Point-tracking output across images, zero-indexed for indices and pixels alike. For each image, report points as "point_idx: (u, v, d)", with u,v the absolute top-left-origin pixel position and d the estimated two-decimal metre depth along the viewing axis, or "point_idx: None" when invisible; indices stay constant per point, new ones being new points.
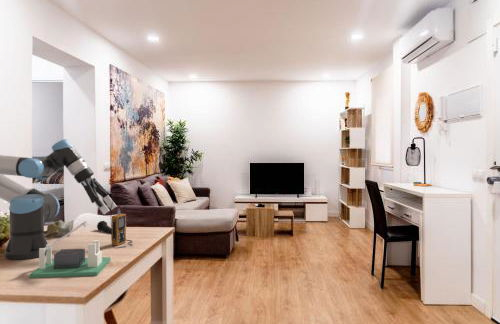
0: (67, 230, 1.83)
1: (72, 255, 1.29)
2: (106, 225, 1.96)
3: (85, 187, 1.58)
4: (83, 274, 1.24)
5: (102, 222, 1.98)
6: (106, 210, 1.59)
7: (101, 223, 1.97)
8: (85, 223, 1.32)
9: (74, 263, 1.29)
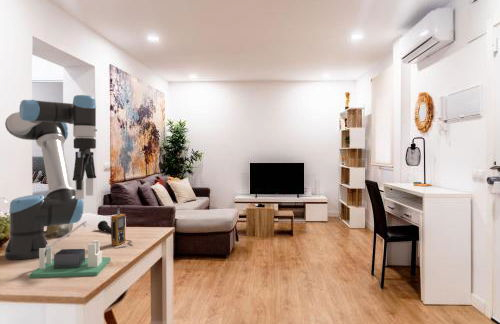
0: (66, 230, 1.83)
1: (72, 255, 1.29)
2: (107, 225, 1.96)
3: (77, 159, 1.32)
4: (83, 274, 1.24)
5: (103, 222, 1.98)
6: (81, 196, 1.33)
7: (102, 223, 1.98)
8: (85, 223, 1.32)
9: (74, 263, 1.29)
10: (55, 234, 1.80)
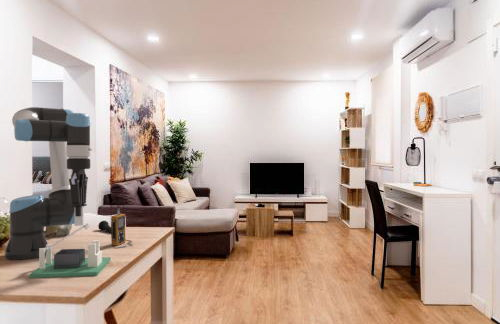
0: (65, 230, 1.83)
1: (72, 255, 1.29)
2: (107, 225, 1.96)
3: (72, 187, 1.27)
4: (83, 274, 1.24)
5: (103, 222, 1.98)
6: (80, 223, 1.31)
7: (102, 223, 1.98)
8: (87, 225, 1.32)
9: (74, 263, 1.29)
10: (54, 234, 1.80)
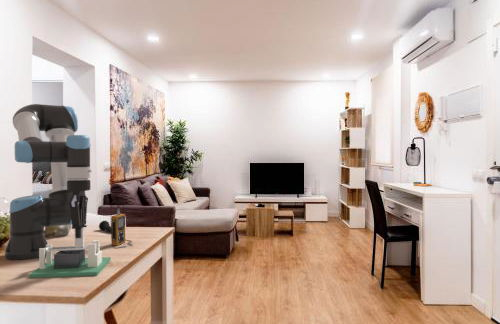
0: (65, 230, 1.83)
1: (72, 255, 1.29)
2: (108, 225, 1.96)
3: (72, 209, 1.27)
4: (83, 274, 1.24)
5: (104, 222, 1.98)
6: (80, 244, 1.31)
7: (103, 223, 1.98)
8: None
9: (74, 263, 1.29)
10: (54, 234, 1.80)
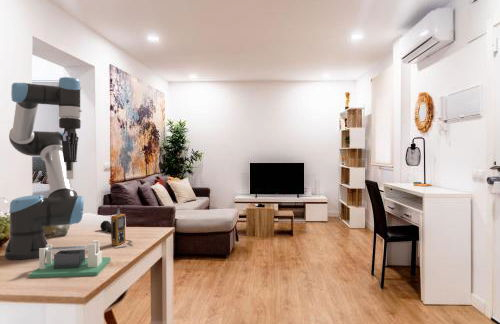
0: (64, 230, 1.84)
1: (72, 255, 1.29)
2: (109, 225, 1.96)
3: (63, 143, 1.41)
4: (83, 274, 1.24)
5: (105, 222, 1.98)
6: (70, 177, 1.46)
7: (104, 223, 1.98)
8: None
9: (74, 263, 1.29)
10: (53, 234, 1.80)
